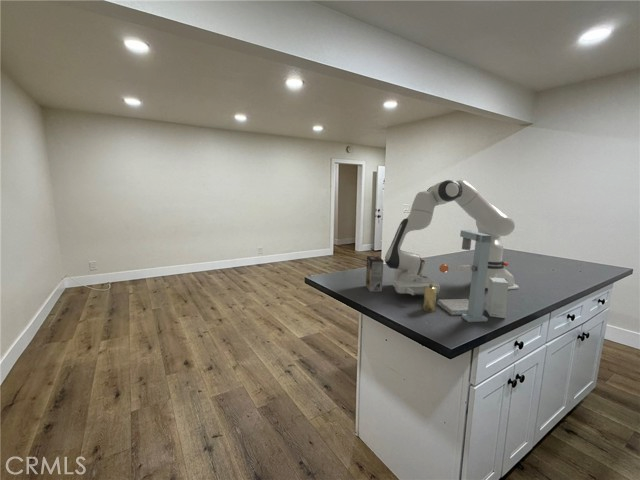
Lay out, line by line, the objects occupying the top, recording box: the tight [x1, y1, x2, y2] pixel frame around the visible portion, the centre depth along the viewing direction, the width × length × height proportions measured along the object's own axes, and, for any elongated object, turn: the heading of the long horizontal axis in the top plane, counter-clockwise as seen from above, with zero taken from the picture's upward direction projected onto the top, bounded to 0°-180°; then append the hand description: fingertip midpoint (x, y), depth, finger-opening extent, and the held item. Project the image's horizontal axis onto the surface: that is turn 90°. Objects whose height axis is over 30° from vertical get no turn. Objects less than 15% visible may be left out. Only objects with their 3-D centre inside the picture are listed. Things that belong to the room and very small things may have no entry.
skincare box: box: [485, 277, 509, 319], centre depth 123 cm, size 8×6×15 cm
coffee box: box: [365, 255, 385, 292], centre depth 151 cm, size 9×6×16 cm
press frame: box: [459, 229, 491, 323], centre depth 121 cm, size 8×15×34 cm, turn 7°
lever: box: [439, 263, 477, 273], centre depth 114 cm, size 14×3×3 cm, turn 97°
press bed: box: [437, 298, 485, 316], centre depth 129 cm, size 14×12×2 cm
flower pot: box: [418, 258, 427, 276], centre depth 180 cm, size 9×9×9 cm
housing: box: [422, 283, 437, 313], centre depth 126 cm, size 5×5×12 cm
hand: (424, 293), depth 131 cm, fingers open, 8 cm apart
